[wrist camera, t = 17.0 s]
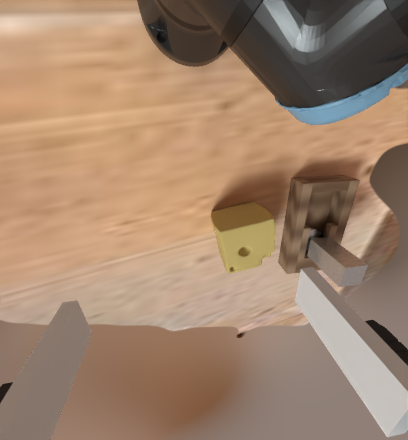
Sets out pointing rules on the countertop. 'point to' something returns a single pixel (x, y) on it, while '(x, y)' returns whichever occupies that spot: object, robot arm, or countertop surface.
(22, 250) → the countertop surface
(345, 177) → the keyhole plate
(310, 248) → the peg
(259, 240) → the cheese
